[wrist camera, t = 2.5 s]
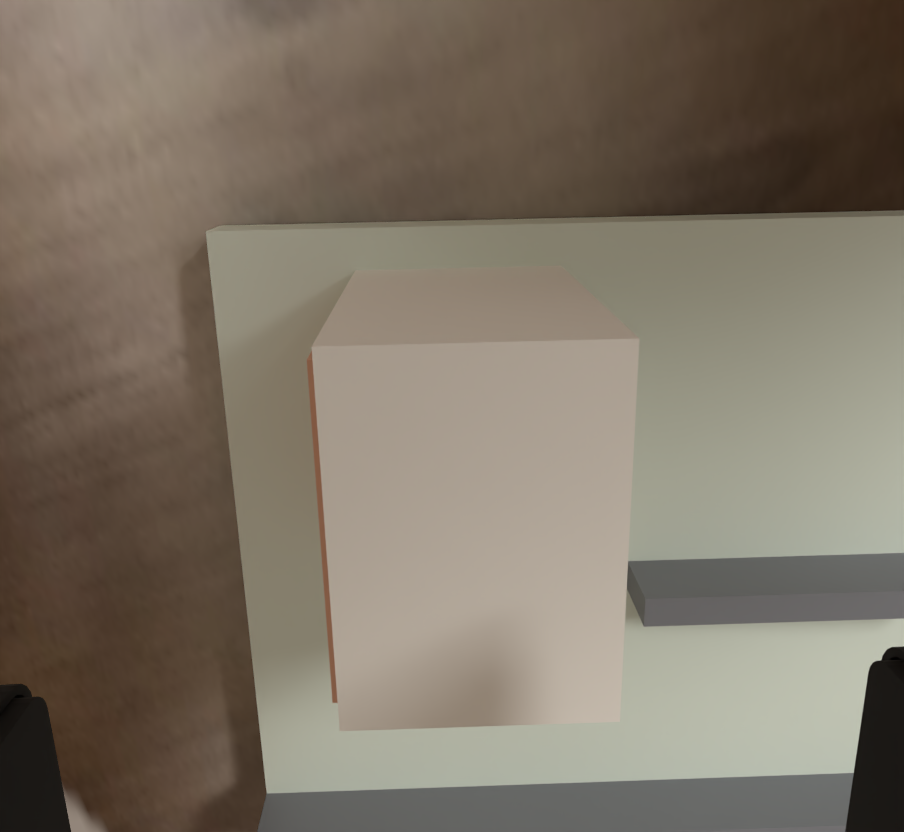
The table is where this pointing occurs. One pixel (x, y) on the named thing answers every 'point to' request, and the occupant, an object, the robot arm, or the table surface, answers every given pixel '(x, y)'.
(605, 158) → the table surface
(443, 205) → the table surface
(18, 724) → the robot arm
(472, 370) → the carton
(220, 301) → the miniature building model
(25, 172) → the table surface
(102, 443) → the table surface
